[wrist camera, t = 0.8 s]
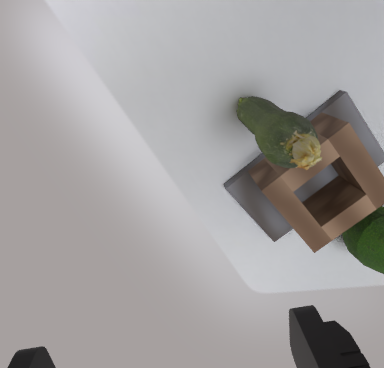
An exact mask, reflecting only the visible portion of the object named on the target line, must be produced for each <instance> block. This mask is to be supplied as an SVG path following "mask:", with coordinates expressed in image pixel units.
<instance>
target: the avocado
mask: <svg viewBox="0 0 384 368" xmlns="http://www.w3.org/2000/svg"><path fill="white" fill-rule="evenodd" d="M342 236H343V239H344V242H345V244H346V246H347V249H348V251H349V252H350V253H351V254H352V255H353V256H354V257H355V258H357V259H358V260H359V261H360V262H361V263H362V264H363V265H365V266H367V267H369V268H371V269H373V270H375V271H378V272H380V273H383V274H384V207H382V206H381V207H379V208H378V209H376V210H375V211H373V212H372V213H371V214H369V215H368V216H366V217H365V218H363V219H362V220H361V221H359V222H358V223H356V224H355V225H353V226H352V227H351V228H349V229H348V230H346V231H345V232H343V233H342Z"/></svg>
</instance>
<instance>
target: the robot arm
mask: <svg viewBox="0 0 384 368" xmlns="http://www.w3.org/2000/svg"><path fill="white" fill-rule="evenodd" d="M289 326H290V346H291V351H292V355H293V358H294V361H295V364H296V366H297V368H370V366H369V363H368V362H367V360H366V358H365V357H364V355H363V354H362V353H361V351H360V349H359V347H358V345H357V344H356V342H355V341H354V339H353V338H352V336H351V334H350V333H349V332H348V331H347V330H345V329H344V328H343V327H342V326H341V325H340V324H338V323H337V322H336V321H329V322H323V320H322V319H321V317H320V315H319V313H318V311H317V310H316V308H315V307H314V306H313V305H311V306H305V307H298V308H292V309H290V310H289ZM8 368H55V365H54V364H53V361H52V359H51V357H50V356H49V353H48V351H47V349H46V348H45V347H36V348H30V349H23V350H19V351H17V352H16V353H15V355H14V356H13V358H12V360H11V362H10V364H9V366H8Z"/></svg>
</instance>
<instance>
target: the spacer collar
mask: <svg viewBox="0 0 384 368" xmlns="http://www.w3.org/2000/svg"><path fill="white" fill-rule="evenodd" d="M307 119H308V120H309V121H310V122H311V124H312V125H313V127H314V129H315V131H316V133H317V135H318V141H319V143H320V147H321V148H320V150H321V153H320V157H322V159H321V160H322V161H321V160H320V161H319V162H317V163H316V164H315V165H314V166H313V167H309V169H308V170H306V169H303V168H300V167H297V168H284V167H281V166H278V165H275V164H273V163H271V162H270V161H269V160H268V159H267V158H266V157H265V155H264V154H263V153H262V154H261V155H259V156H258V157H257V158H256V159H254V160H253V161H252V162H251V163H249V164H248V165H247V166H246V167H245V168H243V169H242V170H241V171H240V172H238V173H237V174H236V175H235V176H233V177H232V178H231V179H230V180H228V181H227V182H226V183H225V184H224V186H225V188H226V190H227V191H228V192H229V193H230V194H231V195H232V196H233V197H234V198H235V199H236V201H237V202H238V203H239V204H240V205H241V206H242V207H243V208H244V209H245V210H246V211H247V213H248V214H249V215H250V216H251V217H252V218H253V219H254V220H255V221H256V222H257V224H258V225H259V226H260V227H261V228H262V229H263V230H264V231H265V232H266V233H267V235H268V236H269V237H270V238H271V239H272V240H273V241H274V242H275V241H277V240H278V239H279V238H281V237H282V236H283V235H285V234H286V233H288V232H289V231H290V230H292V229H293V228H294V230H295V231H296V232H297V233H298V234H299V235H300V237H301V238H302V239H303V240H304V241H305V242H306V244H307V245H308V246H309V247H310V248H311V249H312V251H313V252H314V253H315V252H316V251H318V250H319V249H321V248H322V247H323V246H325V245H326V244H328V243H329V242H331V241H332V240H333V239H335V238H336V237H338V236H339V235H341V234H342V233H343V232H345V231H346V230H348V229H349V228H351V227H352V226H353V225H355V224H356V223H358V222H359V221H361V220H362V219H363V218H365V217H366V216H368V215H369V214H371V213H372V212H373V211H375V210H376V209H378V208H379V207H381V206H382V205H383V204H384V176H383V175H382V173H381V172H380V170H379V169H378V166H379V165H381V164H382V163H383V162H384V152H383V150H382V148H381V147H380V145H379V143H378V142H377V140H376V139H375V137H374V135H373V134H372V132H371V130H370V129H369V127H368V126H367V124H366V122H365V121H364V119H363V118H362V116H361V114H360V113H359V111H358V109H357V108H356V106H355V105H354V103H353V101H352V100H351V98H350V96H349V95H348V93H347V92H345V91H339V92H338V93H336V94H335V95H334V96H333V97H331V98H330V99H329V100H328V101H326V102H325V103H324V104H323V105H321V106H320V107H319V108H318V109H316V110H315V111H314V112H313V113H311V114H310V115H309V116H308V117H307Z"/></svg>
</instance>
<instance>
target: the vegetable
mask: <svg viewBox="0 0 384 368" xmlns="http://www.w3.org/2000/svg"><path fill="white" fill-rule="evenodd" d="M237 116H238V118H239V120H240V121H241V122H242V123H243V124H244V125H245V126H246V127H247V128H248V129H249V130H250V131H251V132H252V133H253V134H254V135H255V139H256V142H257V144H258V146H259V148H260V150H261V151H262V152H263V154H264V155H265V157H266V158H267V159H268V160H269V161H270V162H271V163H273V164H275V165H278V166H281V167H284V168H297V167H300V168H303V169H306V170H308V169H309V167H313V166H314V165H315V164H316V163H317V162H319V161H320V160H321V159H322V157H320V153H321V150H320V148H321V147H320V143H319V141H318V135H317V133H316V131H315V129H314V127H313V125H312V124H311V122H310V121H309V120H308V119H307V118H305V117H303V116H300V115H298V114H296V113H294V112H286V111H284V110H282V109H280V108H278V107H277V106H276V105H275V104H273V103H272V102H270V101H268V100H265V99H263V98H259V97H253V96H251V97H248V98H240V99H239V104H238V109H237ZM321 161H322V160H321Z"/></svg>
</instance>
